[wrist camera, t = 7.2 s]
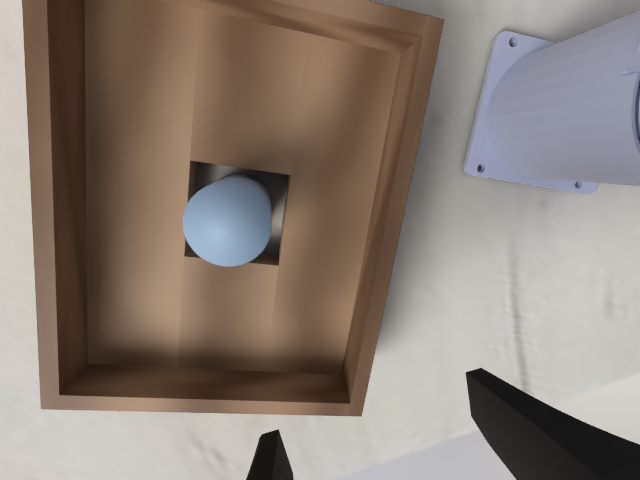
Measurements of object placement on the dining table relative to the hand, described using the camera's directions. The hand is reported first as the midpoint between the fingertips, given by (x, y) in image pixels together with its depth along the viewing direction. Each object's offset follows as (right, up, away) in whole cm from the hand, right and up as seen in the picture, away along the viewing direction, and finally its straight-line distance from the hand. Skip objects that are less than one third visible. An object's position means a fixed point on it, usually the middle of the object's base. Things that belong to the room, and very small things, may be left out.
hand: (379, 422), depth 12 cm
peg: (-7, +9, +7) cm, 13 cm away
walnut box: (-7, +8, +7) cm, 13 cm away
